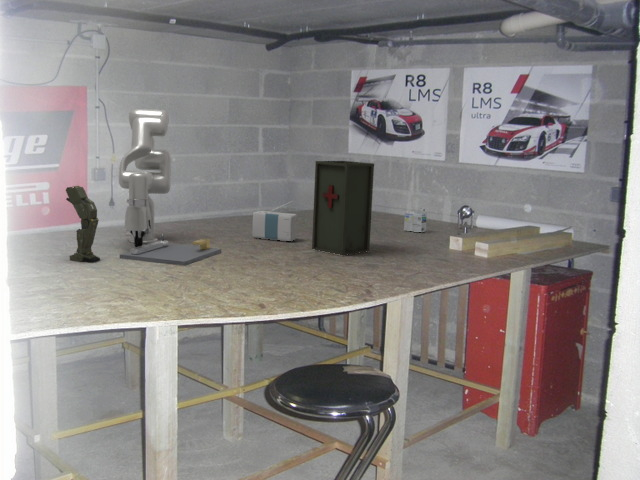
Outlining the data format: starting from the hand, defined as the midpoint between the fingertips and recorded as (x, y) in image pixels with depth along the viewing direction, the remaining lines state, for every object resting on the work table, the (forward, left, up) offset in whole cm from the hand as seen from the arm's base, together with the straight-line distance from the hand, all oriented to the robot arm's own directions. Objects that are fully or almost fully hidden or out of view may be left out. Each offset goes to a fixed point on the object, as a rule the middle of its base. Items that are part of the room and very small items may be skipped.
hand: (138, 246), depth 283 cm
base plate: (+15, +2, -2) cm, 15 cm away
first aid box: (+74, +49, -3) cm, 89 cm away
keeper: (+23, +11, -1) cm, 26 cm away
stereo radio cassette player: (+37, +61, -3) cm, 71 cm away
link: (+5, 0, -1) cm, 5 cm away
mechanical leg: (-9, -24, -3) cm, 26 cm away
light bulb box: (+94, +127, -3) cm, 158 cm away
